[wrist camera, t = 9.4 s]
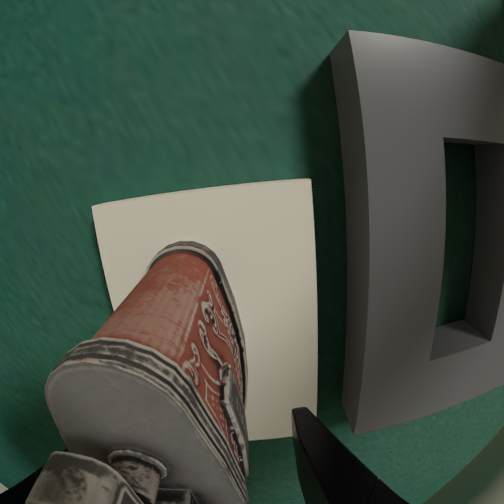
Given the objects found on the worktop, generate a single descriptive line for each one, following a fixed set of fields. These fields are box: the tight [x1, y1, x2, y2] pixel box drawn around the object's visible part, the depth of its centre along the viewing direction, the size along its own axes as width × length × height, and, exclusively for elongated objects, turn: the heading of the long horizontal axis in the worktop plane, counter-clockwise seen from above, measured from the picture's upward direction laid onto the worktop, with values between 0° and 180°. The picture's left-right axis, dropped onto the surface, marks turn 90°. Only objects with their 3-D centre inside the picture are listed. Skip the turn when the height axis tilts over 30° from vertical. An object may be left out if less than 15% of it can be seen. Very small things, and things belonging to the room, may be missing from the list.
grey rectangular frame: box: [329, 30, 504, 436], centre depth 11 cm, size 10×16×2 cm, turn 6°
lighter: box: [25, 241, 249, 504], centre depth 7 cm, size 8×3×10 cm, turn 8°
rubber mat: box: [92, 178, 318, 441], centre depth 13 cm, size 8×12×1 cm, turn 6°
